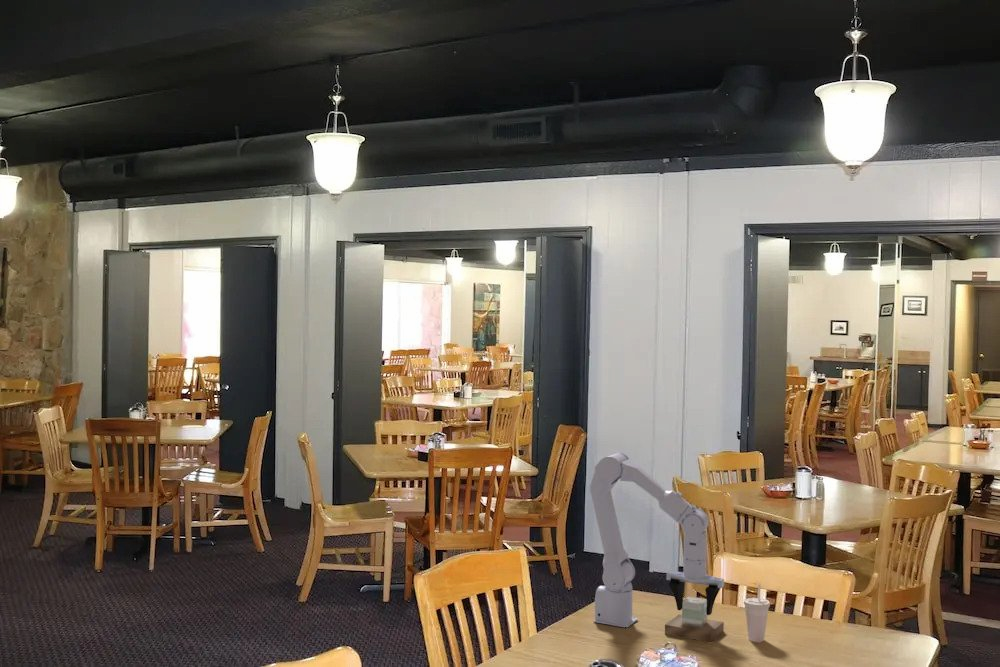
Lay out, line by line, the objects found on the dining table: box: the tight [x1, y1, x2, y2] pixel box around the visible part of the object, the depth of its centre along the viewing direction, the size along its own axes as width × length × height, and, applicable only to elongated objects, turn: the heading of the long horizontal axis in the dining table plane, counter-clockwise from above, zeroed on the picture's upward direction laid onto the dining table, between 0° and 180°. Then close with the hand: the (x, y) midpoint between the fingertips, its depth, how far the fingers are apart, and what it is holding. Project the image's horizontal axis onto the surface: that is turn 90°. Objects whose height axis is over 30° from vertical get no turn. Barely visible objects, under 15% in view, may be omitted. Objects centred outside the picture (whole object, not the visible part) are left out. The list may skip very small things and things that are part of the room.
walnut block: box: [664, 614, 725, 643], centre depth 247 cm, size 12×10×3 cm
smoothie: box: [743, 583, 771, 643], centre depth 242 cm, size 6×6×14 cm
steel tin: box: [681, 596, 708, 628], centre depth 247 cm, size 5×5×6 cm
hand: (694, 611), depth 247 cm, fingers open, 7 cm apart
